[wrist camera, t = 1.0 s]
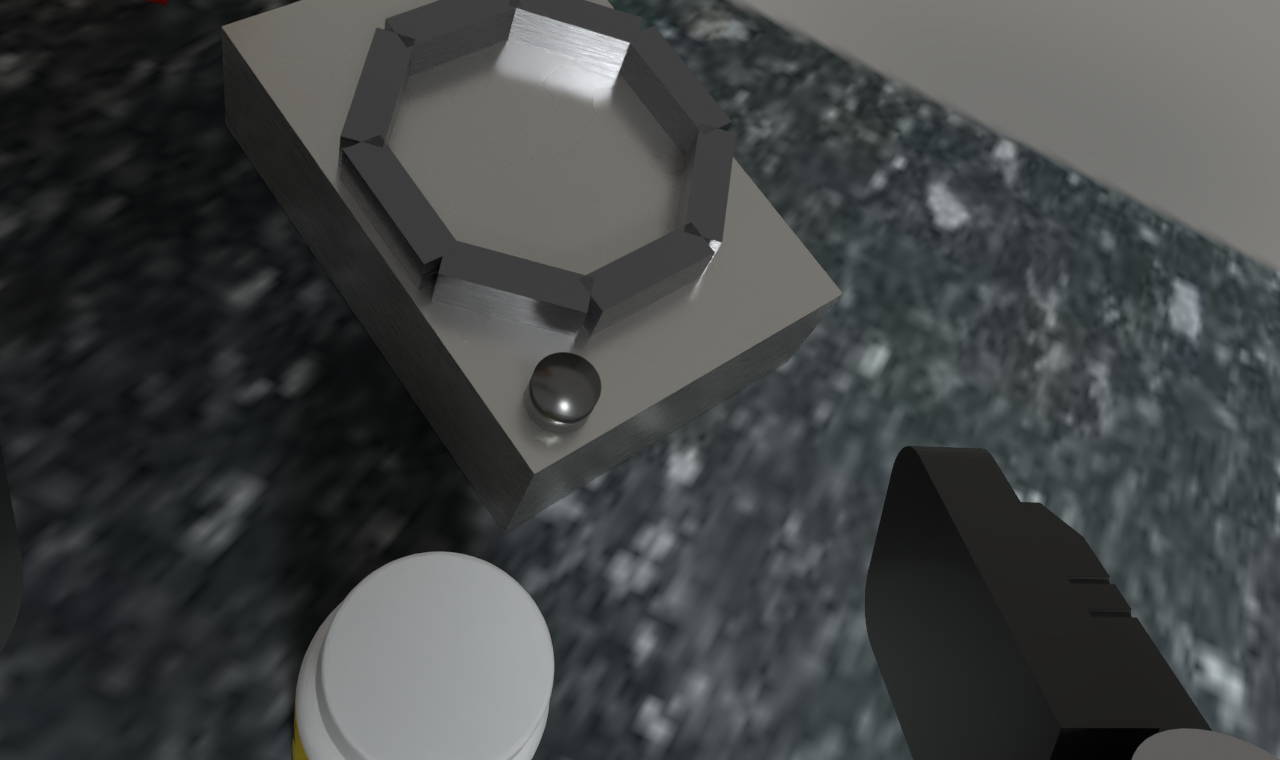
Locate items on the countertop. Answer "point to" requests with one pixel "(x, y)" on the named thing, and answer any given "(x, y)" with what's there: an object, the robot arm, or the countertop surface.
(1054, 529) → the robot arm
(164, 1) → the baking soda box
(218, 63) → the countertop surface
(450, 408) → the octagon ring base plate
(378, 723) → the supplement bottle
